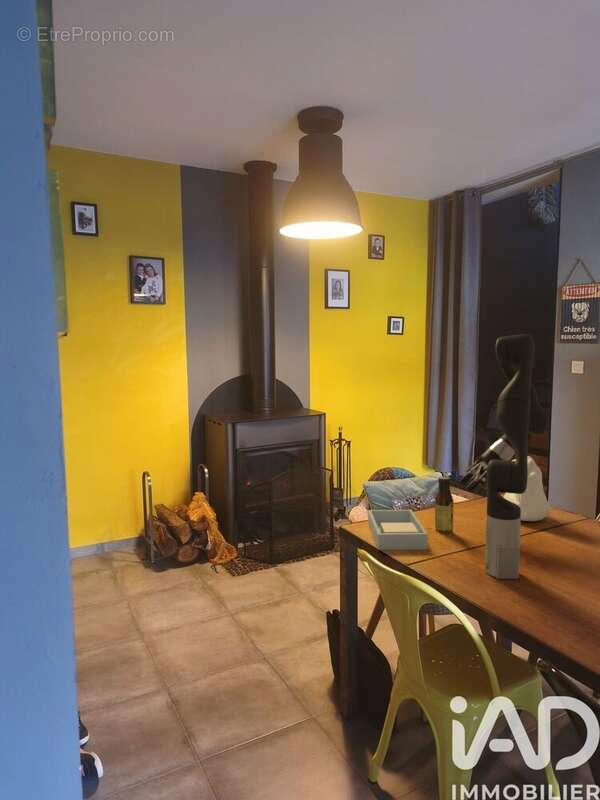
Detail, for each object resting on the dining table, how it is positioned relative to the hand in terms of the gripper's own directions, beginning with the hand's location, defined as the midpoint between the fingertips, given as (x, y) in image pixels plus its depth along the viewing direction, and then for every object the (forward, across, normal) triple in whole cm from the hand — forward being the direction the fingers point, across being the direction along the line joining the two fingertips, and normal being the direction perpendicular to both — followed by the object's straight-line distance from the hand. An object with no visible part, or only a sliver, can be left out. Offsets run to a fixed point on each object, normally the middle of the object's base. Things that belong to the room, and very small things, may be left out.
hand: (464, 487), depth 188 cm
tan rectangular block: (+29, +11, -7) cm, 31 cm away
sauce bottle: (+17, 0, +7) cm, 18 cm away
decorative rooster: (-9, -18, +32) cm, 38 cm away
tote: (+29, +5, -6) cm, 30 cm away
